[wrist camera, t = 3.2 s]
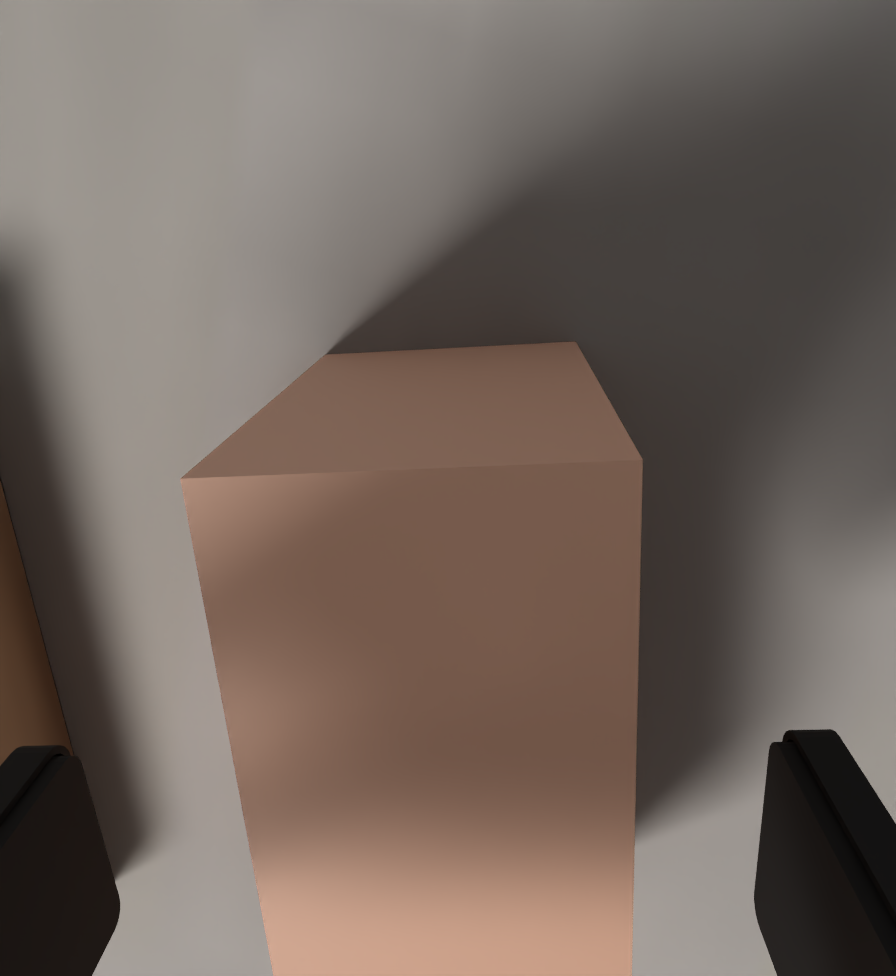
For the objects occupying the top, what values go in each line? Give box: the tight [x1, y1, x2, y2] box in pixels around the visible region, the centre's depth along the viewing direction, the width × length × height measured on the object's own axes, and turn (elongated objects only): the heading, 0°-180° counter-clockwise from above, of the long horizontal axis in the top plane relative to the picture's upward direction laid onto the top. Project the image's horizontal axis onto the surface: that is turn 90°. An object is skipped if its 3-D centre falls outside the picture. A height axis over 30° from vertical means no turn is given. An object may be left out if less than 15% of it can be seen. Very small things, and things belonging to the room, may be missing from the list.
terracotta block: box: [181, 341, 643, 976], centre depth 13 cm, size 4×12×7 cm, turn 4°
